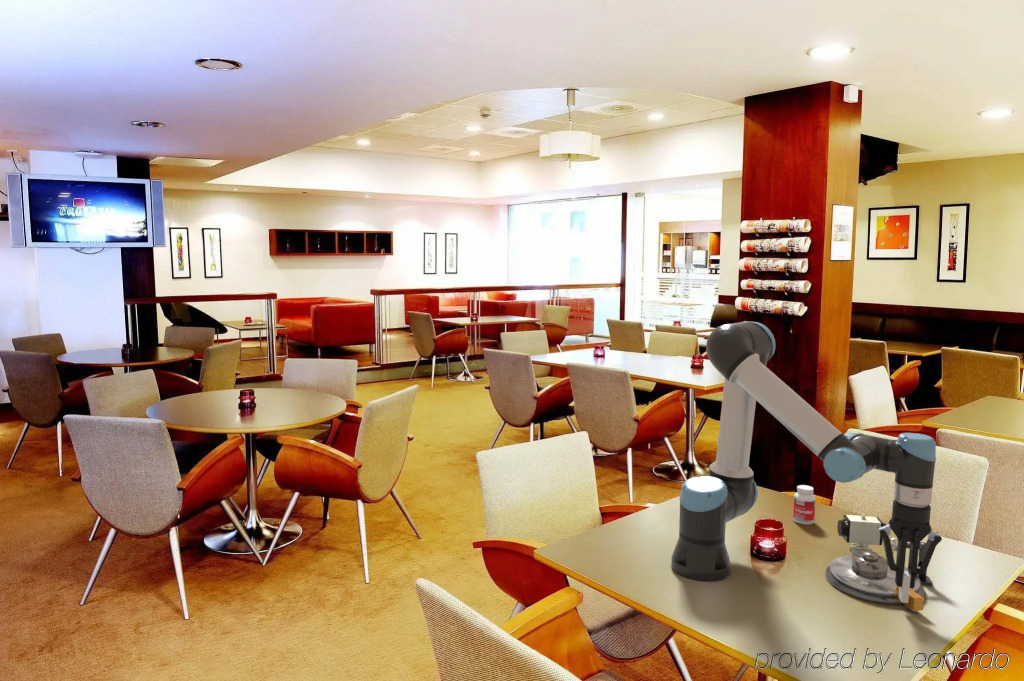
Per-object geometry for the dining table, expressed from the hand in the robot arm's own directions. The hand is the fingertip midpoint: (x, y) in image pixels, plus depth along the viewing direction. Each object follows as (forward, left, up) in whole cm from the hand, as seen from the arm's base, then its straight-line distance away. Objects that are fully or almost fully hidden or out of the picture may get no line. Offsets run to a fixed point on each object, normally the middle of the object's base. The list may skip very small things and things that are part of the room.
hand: (903, 599), depth 160 cm
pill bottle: (-16, +53, -3) cm, 56 cm away
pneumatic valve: (-4, +30, -3) cm, 31 cm away
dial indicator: (+5, +18, -3) cm, 19 cm away
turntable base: (-4, +13, -3) cm, 14 cm away
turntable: (-2, +11, -2) cm, 11 cm away
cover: (-5, +13, 0) cm, 14 cm away
